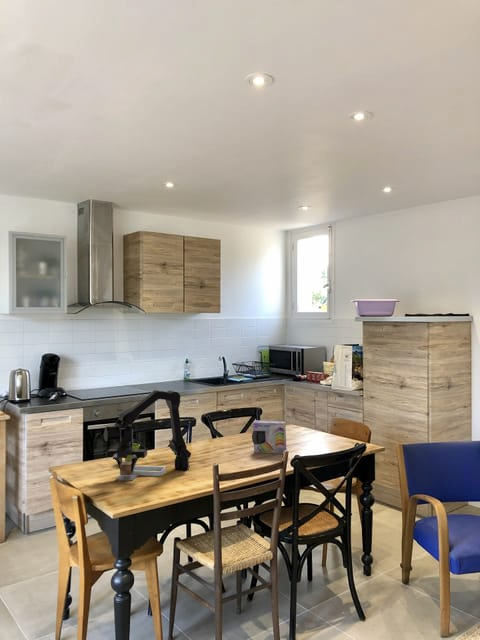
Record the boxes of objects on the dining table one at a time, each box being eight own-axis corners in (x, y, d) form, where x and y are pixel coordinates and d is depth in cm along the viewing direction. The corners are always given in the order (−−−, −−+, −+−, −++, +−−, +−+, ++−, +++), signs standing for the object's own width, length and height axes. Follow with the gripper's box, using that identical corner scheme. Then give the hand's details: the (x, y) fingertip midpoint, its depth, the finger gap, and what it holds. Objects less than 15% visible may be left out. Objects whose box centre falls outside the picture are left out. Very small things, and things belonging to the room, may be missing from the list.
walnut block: (133, 472, 249) (133, 461, 249) (130, 475, 244) (130, 464, 244) (123, 471, 249) (123, 461, 249) (120, 475, 244) (119, 464, 244)
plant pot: (122, 464, 269) (122, 448, 269) (121, 460, 278) (121, 443, 278) (140, 463, 272) (140, 446, 272) (139, 458, 281) (139, 442, 281)
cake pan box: (251, 452, 293) (251, 421, 293) (254, 450, 298) (253, 419, 298) (284, 454, 288) (284, 423, 288) (286, 452, 293) (286, 421, 293)
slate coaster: (137, 475, 250) (137, 474, 250) (132, 480, 242) (132, 479, 242) (121, 475, 251) (121, 474, 251) (115, 480, 243) (115, 479, 243)
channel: (166, 470, 259) (166, 466, 259) (161, 475, 249) (161, 471, 249) (133, 469, 260) (133, 465, 260) (128, 474, 251) (128, 470, 251)
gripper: (101, 442, 239) (101, 475, 239) (140, 443, 237) (140, 477, 237) (109, 436, 250) (110, 469, 250) (147, 437, 248) (147, 470, 248)
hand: (126, 471), depth 246 cm, fingers closed on walnut block, 5 cm apart
